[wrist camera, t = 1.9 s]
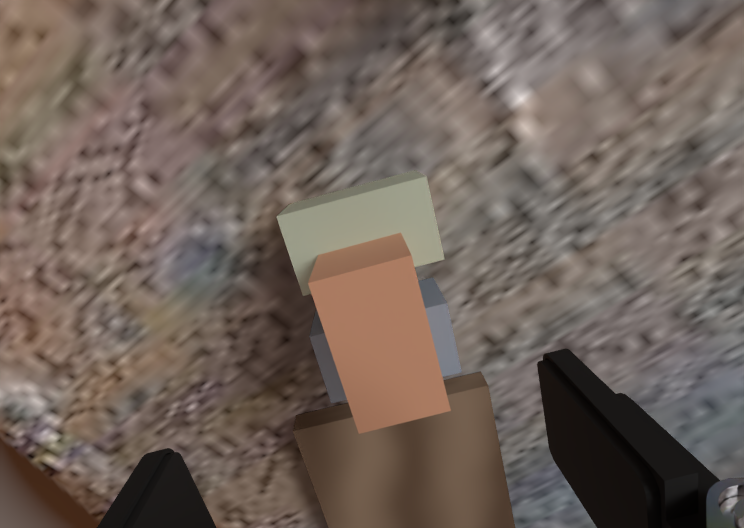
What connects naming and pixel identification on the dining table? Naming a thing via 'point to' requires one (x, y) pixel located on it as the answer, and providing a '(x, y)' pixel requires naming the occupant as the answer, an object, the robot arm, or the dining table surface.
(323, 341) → the slate brick
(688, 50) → the dining table surface
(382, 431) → the oak board
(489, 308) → the dining table surface
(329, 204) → the sage brick
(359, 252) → the terracotta brick
